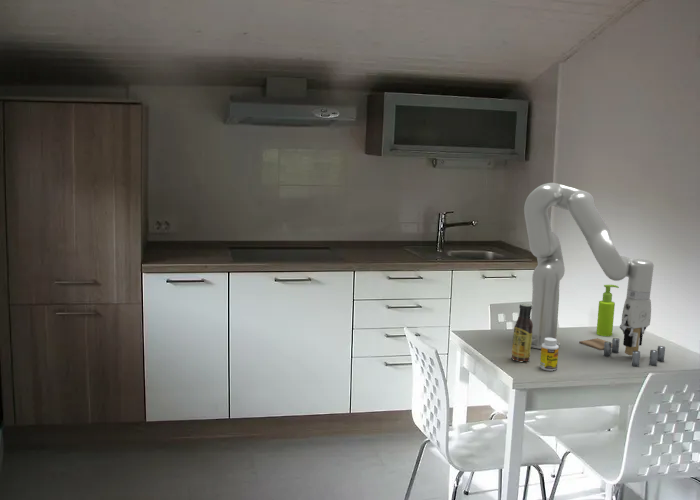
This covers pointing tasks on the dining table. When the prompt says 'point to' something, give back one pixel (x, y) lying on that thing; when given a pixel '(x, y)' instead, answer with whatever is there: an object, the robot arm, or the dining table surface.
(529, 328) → the sauce bottle
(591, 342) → the walnut pad
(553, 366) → the supplement bottle
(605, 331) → the soap dispenser
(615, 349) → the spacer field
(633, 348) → the sprinkles bottle
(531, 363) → the dining table surface
